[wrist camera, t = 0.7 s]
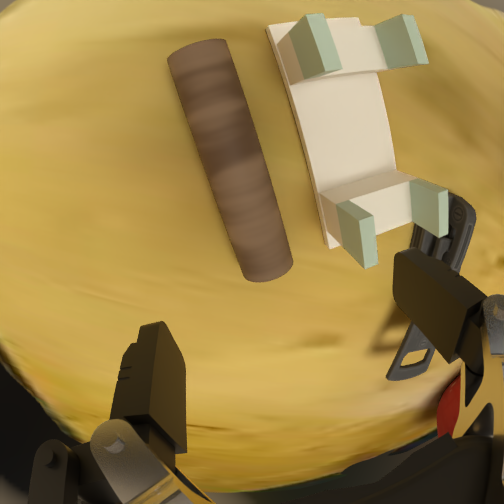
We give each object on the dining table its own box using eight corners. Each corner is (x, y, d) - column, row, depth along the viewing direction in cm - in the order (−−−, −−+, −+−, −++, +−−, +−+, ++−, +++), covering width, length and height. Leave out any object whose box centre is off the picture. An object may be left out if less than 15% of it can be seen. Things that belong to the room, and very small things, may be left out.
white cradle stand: (265, 29, 19) (293, -11, 11) (352, 20, 19) (405, -7, 11) (325, 244, 29) (365, 290, 21) (396, 219, 29) (448, 253, 21)
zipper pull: (382, 385, 32) (462, 201, 22) (363, 353, 38) (423, 184, 28) (427, 374, 34) (501, 214, 24) (407, 347, 40) (466, 197, 30)
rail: (169, 66, 20) (163, 53, 16) (223, 50, 20) (229, 33, 16) (239, 263, 29) (247, 289, 25) (284, 247, 29) (300, 269, 25)
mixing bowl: (509, 339, 51) (539, 372, 37) (452, 411, 62) (474, 444, 48) (469, 339, 44) (511, 386, 30) (397, 426, 54) (421, 472, 41)
